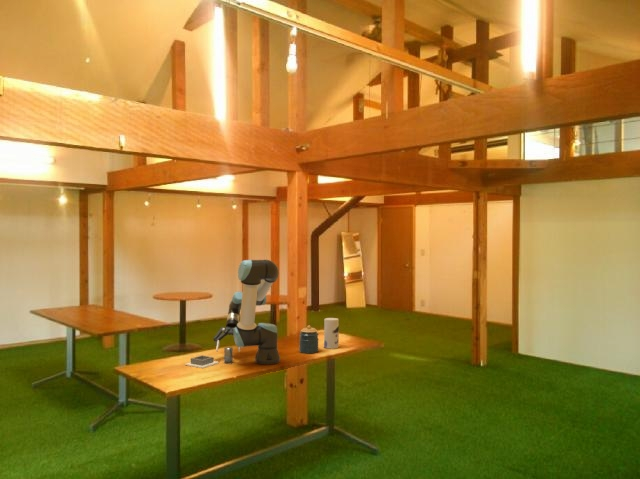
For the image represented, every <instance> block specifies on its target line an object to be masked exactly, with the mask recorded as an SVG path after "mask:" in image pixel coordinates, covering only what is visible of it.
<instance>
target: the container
mask: <svg viewBox="0 0 640 479" xmlns="http://www.w3.org/2000/svg"><path fill="white" fill-rule="evenodd" d="M323 320H324V323H323V324H324V325H323V329H324V330H323V332H324V334H323V336H324V337H323V341H324V342H323V346H324V347H323V348H325V349H328V350H331V349H332V350H334V349H338V348H339V339H340V338H339V337H340V336H339V334H340V332H339V329H340V328H339V326H340V325H339V323H340V321H339V318H338V317H337V318H336V317H326V318H324V319H323Z"/></svg>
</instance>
